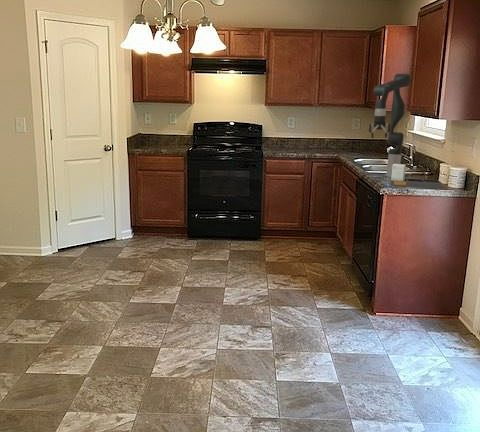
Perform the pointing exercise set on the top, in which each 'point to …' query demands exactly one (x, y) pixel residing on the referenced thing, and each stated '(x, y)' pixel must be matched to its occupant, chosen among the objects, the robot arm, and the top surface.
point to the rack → (416, 183)
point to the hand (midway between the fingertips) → (378, 138)
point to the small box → (398, 172)
